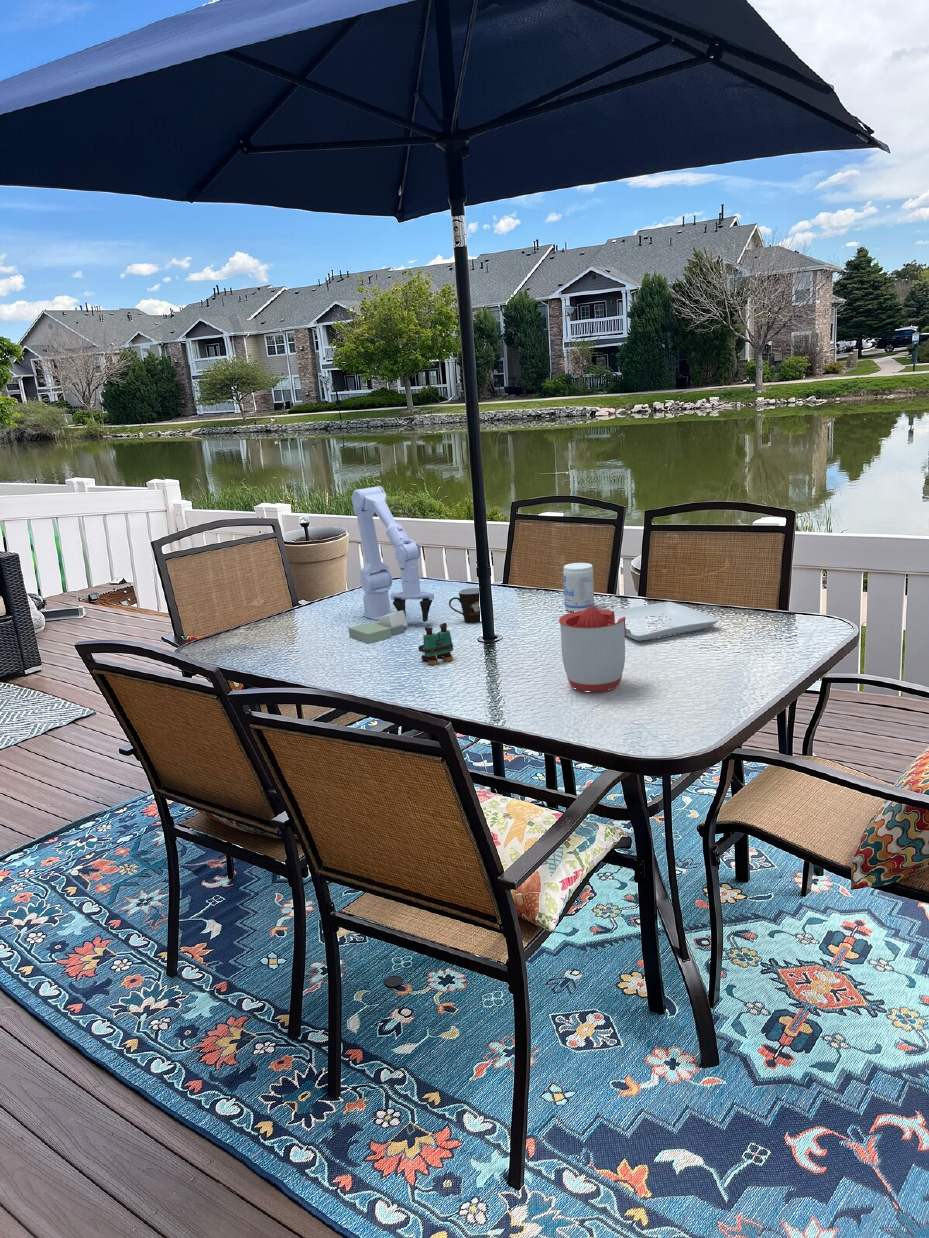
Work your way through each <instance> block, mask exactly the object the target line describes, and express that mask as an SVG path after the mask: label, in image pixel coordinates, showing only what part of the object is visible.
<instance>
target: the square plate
mask: <svg viewBox="0 0 929 1238" xmlns="http://www.w3.org/2000/svg"><path fill="white" fill-rule="evenodd" d="M613 611H614V616H615V622H618V619H620V618H623V617H625V620H626V619H641V618H642V619H643V617H645V616H667V617H660V618H659V617H658V618H648V619H672V620H667V621H663V622H662V621H657V622H656V621H655V622H654V621H653V622H652V621H649V622H645V621H644V622H637V623H670V624H668V625H667V624H666V625H663V624H662V625H661V624H660V625H658V626H674V627H667V628H664V627H663V628H660V629H659V628H657V629H656V628H655V629H654V628H653V629H652V628H649V629H645V628H644V629H629V630H660V631H656V632H655V631H654V632H653V631H652V632H649V631H648V632H647V631H646V632H642V631H641V632H631V634H626V637H629V638H631V639H632V640H635V641H638V642H640V641H641V642H642V640H644V641H650V640H649V639H651V640H655V639H654V638H657V639H659V638H658V637H662V638H665V637H664V636H667V637H670V636H669V635H672V636H675V635H674V634H678V633H683V634H686V633H685V632H688V633H691V632H690V631H693V632H696V631H695V630H697V631H700V630H705V629H707V628H710V627H713V626H714V625H715V624H717V622H719V621H720V619H719V618H717V617H714V616H712V615H709V614H707V613H706V612H705V613H704V612H702V611H699V610H697V609H694V608H691V607H688V606H685V605H682V604H679V603H675V602H672V601H664V602H658V603H652V604H645V605H639V606H633V607H628V608H623V609H622V608H621V609H619V610H618V609H617V610H613ZM663 613H665V614H664V615H663ZM661 614H662V615H661ZM644 619H647V618H644ZM673 619H675V620H673ZM632 623H633V622H632ZM635 623H636V622H635ZM673 623H675V624H673ZM634 626H635V625H634ZM641 626H642V625H641ZM643 626H644V625H643ZM646 626H651V625H646ZM652 626H657V625H652ZM675 626H676V627H675ZM633 633H648V634H642V635H641V634H640V635H639V634H638V635H637V634H633ZM678 635H679V634H678Z"/></svg>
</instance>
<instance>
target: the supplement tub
mask: <svg viewBox="0 0 929 1238" xmlns="http://www.w3.org/2000/svg"><path fill="white" fill-rule="evenodd" d="M562 574H563V595H564V609H565V610H566V611H567V610H568V612H570V611H584V610H586V609H587V608H588V607H589V606H594V607H595V593H594V587H595V586H594V585H595V584H594V569H593V564H591V563H588V562H573V563H568V564H565V565H563V573H562Z"/></svg>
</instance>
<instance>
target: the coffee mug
mask: <svg viewBox="0 0 929 1238" xmlns="http://www.w3.org/2000/svg"><path fill="white" fill-rule="evenodd" d="M479 588H480V587H468V588H462V589H460V590H458V596H459V597H457V596H456V597H455V596H454V597H452V598H450V600H449V601H448V606H449V607H450V609H451V610H453V611H454V612H456V613H458V614H461V615H462V617H463V621H464V623H465V624H471V623H472V624H479V623H481V622H480V607H479ZM454 600H458V602H459V603H460V605H461V611H460V610H458V609H456V608H454V607H453V606H452V601H454Z"/></svg>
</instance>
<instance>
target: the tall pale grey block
mask: <svg viewBox="0 0 929 1238" xmlns="http://www.w3.org/2000/svg"><path fill="white" fill-rule="evenodd" d="M377 621H378V623H379V624H380V625H382V626H384V627H387V628H390V627H394V626H397V625H401V624H403V625H404V627H407V626H408V621H407V616H406V617H405V614H404V611H403V610H401V611H397V610H396V611H393V612H391V613H390V614H387V615H384V616H382V617H379V618H378V620H377Z"/></svg>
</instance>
